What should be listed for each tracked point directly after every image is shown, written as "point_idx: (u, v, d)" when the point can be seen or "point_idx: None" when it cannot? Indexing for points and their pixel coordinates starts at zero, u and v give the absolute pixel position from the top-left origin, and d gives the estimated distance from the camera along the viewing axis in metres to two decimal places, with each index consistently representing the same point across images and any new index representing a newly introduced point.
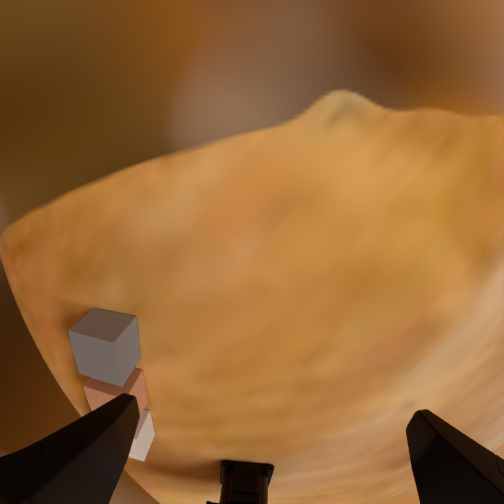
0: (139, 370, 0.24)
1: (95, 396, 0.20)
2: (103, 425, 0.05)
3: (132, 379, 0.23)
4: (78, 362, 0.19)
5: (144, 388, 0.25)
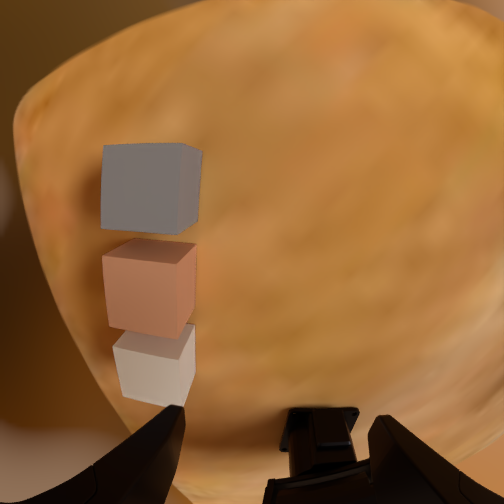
0: (192, 244, 0.18)
1: (120, 275, 0.15)
2: (158, 441, 0.05)
3: (182, 250, 0.17)
4: (104, 205, 0.14)
5: (194, 278, 0.19)
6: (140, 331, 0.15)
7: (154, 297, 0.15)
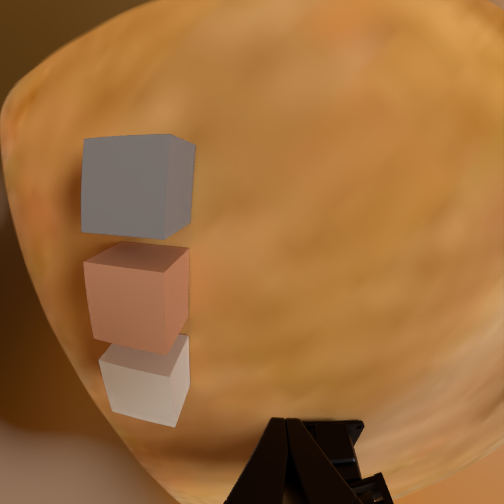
0: (184, 248, 0.17)
1: (103, 283, 0.13)
2: (282, 458, 0.05)
3: (173, 255, 0.15)
4: (85, 206, 0.12)
5: (187, 285, 0.17)
6: (126, 345, 0.14)
7: (140, 309, 0.13)
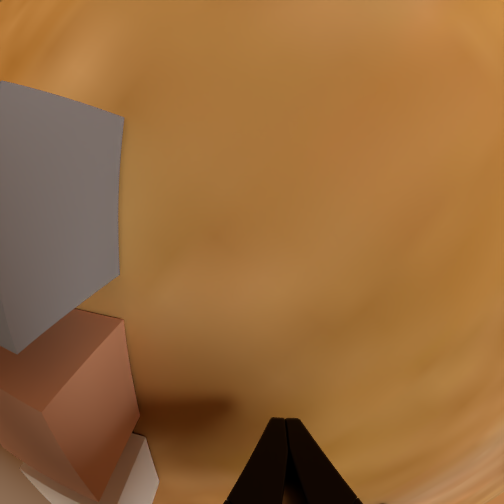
0: (114, 320, 0.08)
1: None
2: (282, 458, 0.05)
3: (84, 345, 0.06)
4: None
5: (128, 379, 0.08)
6: (41, 472, 0.05)
7: (35, 445, 0.04)
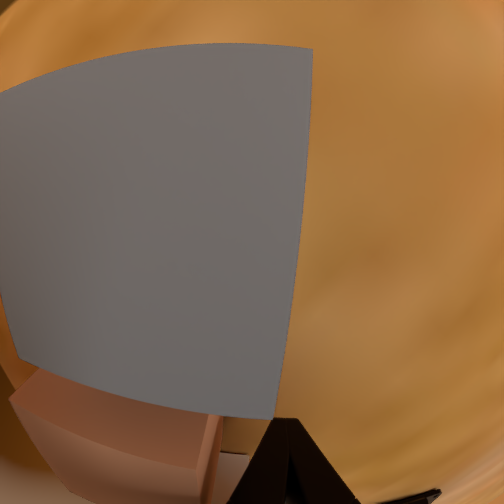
0: None
1: (57, 445, 0.04)
2: (284, 458, 0.05)
3: None
4: (9, 296, 0.03)
5: None
6: None
7: (146, 496, 0.04)
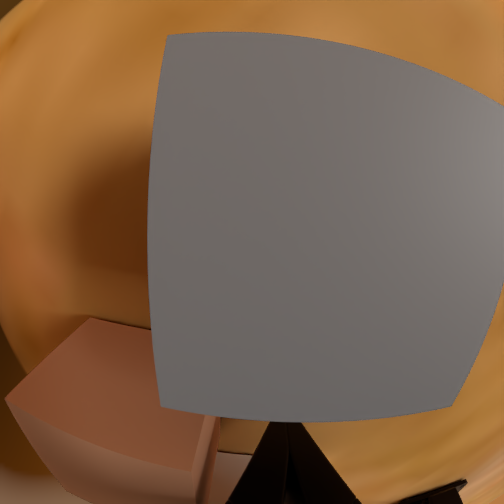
0: None
1: (53, 445, 0.04)
2: (283, 458, 0.05)
3: None
4: (175, 332, 0.03)
5: None
6: None
7: (142, 497, 0.04)
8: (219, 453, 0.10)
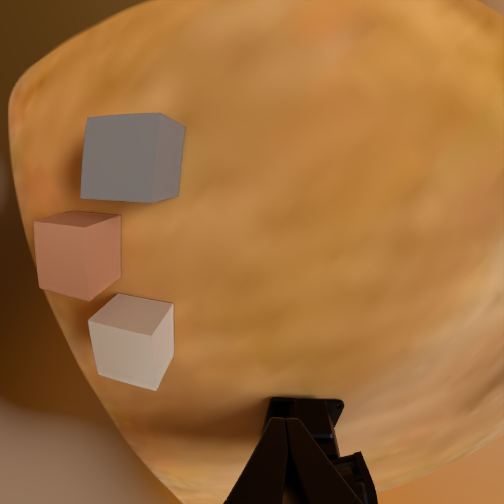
0: (116, 215, 0.18)
1: (45, 238, 0.14)
2: (282, 458, 0.05)
3: (102, 218, 0.16)
4: (85, 175, 0.13)
5: (118, 248, 0.18)
6: (61, 292, 0.15)
7: (69, 259, 0.14)
8: (122, 295, 0.20)
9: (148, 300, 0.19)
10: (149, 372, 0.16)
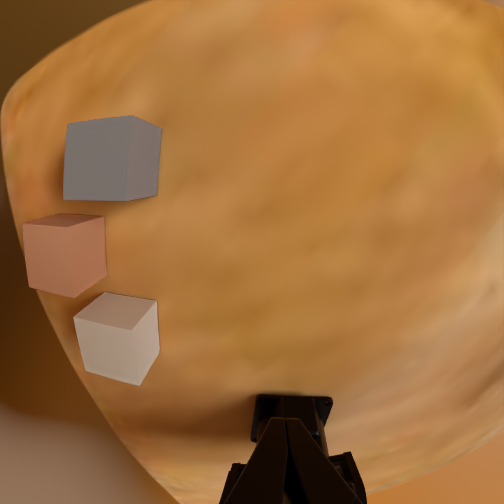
0: (100, 216, 0.18)
1: (33, 239, 0.14)
2: (282, 458, 0.05)
3: (86, 219, 0.17)
4: (66, 177, 0.13)
5: (103, 247, 0.19)
6: (48, 290, 0.15)
7: (55, 258, 0.15)
8: (108, 294, 0.20)
9: (132, 297, 0.20)
10: (132, 367, 0.16)
